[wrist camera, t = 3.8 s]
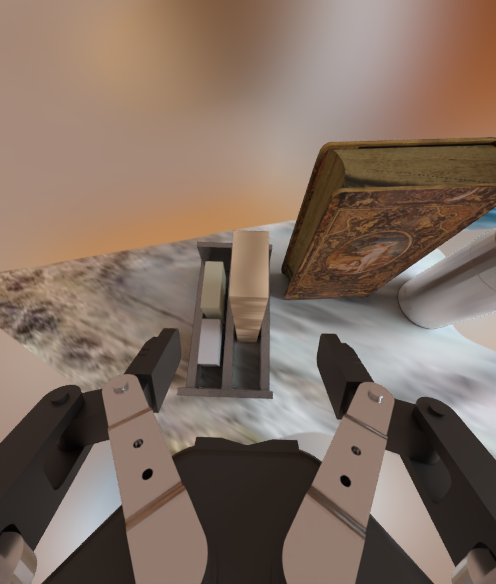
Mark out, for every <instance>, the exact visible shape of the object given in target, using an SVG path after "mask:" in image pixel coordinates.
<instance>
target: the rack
mask: <svg viewBox="0 0 496 584" xmlns="http://www.w3.org/2000/svg"><path fill="white" fill-rule="evenodd" d="M232 247H233V243H211V242H197V248H198V251H199V254H200V257H201V259H202V260H201V268H200V276H199V284H198V293H197V301H196V309H195V317H194V325H193V334H192V342H191V350H190V358H189V366H188V375H187V383H186V387H184V388H178V392H177V395H184V396H211V397H238V398H265V399H273V391H270V390H269V347H270V257H271V252H272V245H269V298H268V302H267V305H266V309H265V313H264V316H263V320H262V324H261V327H260V368H259V389H239V388H232V376H233V358H234V340H235V324H234V319H233V314H232V309H231V303H230V298H229V291H230V276H231V261H232ZM206 261H213V262H223V265H224V270H225V271H230V275H229V289H228V303H227V317H226V332H225V346H224V360H223V374H222V388H212V387H200V382H201V372H202V365H200V364H197V363H198V353H199V344H200V335H201V325H202V319H207V318H206V316H205V314H204V313H203V311H202V310H201V308H200V306H201V297H202V288H203V280H204V271H205V262H206Z"/></svg>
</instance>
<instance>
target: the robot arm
mask: <svg viewBox="0 0 496 584" xmlns="http://www.w3.org/2000/svg"><path fill="white" fill-rule="evenodd" d="M398 299H399V304H400V307H401V309H402V311H403V313H404V314H405V315H406V316H407V317H408V318H409V319H410V320H411V321H412V322H414V323H415V324H417V325H419V326H421V327H424V328H429V329H436V328H441V327H444V326H448V325H451V324H454V323H459V322H462V321H466V320H469V319H473V318H477V317H480V316H484V315H487V314H491V313H494V312H496V227H494V228H493V229H491V230H490V231H488V232H486V233H485V234H483V235H481V236H480V237H478V238H477V239H475V240H474V241H472V242H470V243H469V244H467V245H465V246H464V247H462V248H461V249H459V250H457V251H456V252H454V253H453V254H451V255H449V256H448V257H446V258H444V259H443V260H441V261H440V262H438V263H436V264H435V265H433V266H432V267H430V268H428V269H427V270H425V271H424V272H422V273H420V274H419V275H417V276H415V277H414V278H412V279H411V280H409V281H407V282H406V283H405V284H403V285H402V287H401V288H400V291H399V295H398ZM180 359H181V346H180V337H179V330H178V329H173V328H164V329H163V330H162V331H161V333H160V335H159V336H158V337H153V338H151V339H150V340H148V341H147V342H146V343H145V344H144V346H143V347H142V349H141V350H140V351H139V353H138V354H137V356H136V357H135V359H134V360H133V361H132V363H131V364H130V366H129V367H128V369H127V370H126V372H125V373H124V374H123V375H120V376H117V377H115V378H113V379H111V380H110V381H109V382H107V383H106V384H105V386H104V387H103V389H99V390H94V391H90V392H85V393H82V392H81V389H80V387H78V386H76V385H66V386H62V387H59V388H57V389H55V390H53V391H51V392H49V393H48V394H47V395H45V396H44V397H43V398H42V399H41V400H40V401H39V403H37V405H36V406H35V407H34V408H33V409H32V410H31V411H30V412H29V413H28V414H27V415H26V416H25V417H24V418H23V419H22V421H21V422H20V423H19V424H18V425H17V426H16V427H15V428H14V429H13V430H12V431H11V433H9V435H8V436H7V437H6V438H5V439H4V440H3V441H2V442H1V443H0V584H31V583H32V580H33V578H34V576H35V572H36V568H37V558H36V555H35V553H34V550H35V548H36V546H37V544H38V543H39V541H40V539H41V537H42V536H43V534H44V532H45V530H46V528H47V527H48V525H49V523H50V521H51V520H52V518H53V516H54V514H55V512H56V511H57V509H58V507H59V505H60V504H61V502H62V500H63V498H64V496H65V494H66V493H67V491H68V489H69V487H70V486H71V484H72V482H73V480H74V479H75V477H76V475H77V473H78V471H79V470H80V468H81V466H82V464H83V462H84V461H85V459H86V457H87V455H88V453H89V452H90V450H91V448H92V446H93V445H94V444H95V443H99V442H102V441H106V440H110V444H111V449H112V454H113V459H114V465H115V470H116V475H117V480H118V486H119V490H120V496H121V501H122V505H121V506H120V507H119V508H118V509H117V510H116V511H115V512H114V513H113V514H112V515H111V516H110V517H109V518H108V519H106V520H105V521H104V523H103V524H101V525H100V526H99V527H98V528H97V529H96V530H95V531H94V532H93V533H92V534H91V535H90V536H89V537H88V538H87V539H86V540H85V541H84V542H83V543H82V544H81V545H80V546H79V547H78V548H77V549H76V550H75V551H74V552H73V553H72V554H71V555H70V556H69V557H68V558H67V559H66V560H65V561H64V562H63V563H62V564H61V565H60V566H59V567H58V568H57V569H56V570H55V571H54V572H53V573H52V574H51V575H50V576H49V577H48V578H47V579H46V580H45V581H44V582H43V583H42V584H434V583H433V582H432V581H431V580H430V579H429V578H428V577H427V575H426V574H425V573H424V572H423V571H422V570H421V569H420V568H419V567H418V566H417V564H415V562H414V561H413V560H412V559H411V558H410V557H409V556H408V555H407V554H406V553H405V552H404V550H403V549H402V548H401V547H400V546H399V545H398V544H397V543H396V542H395V540H394V539H393V538H392V537H391V536H390V535H389V534H388V533H387V532H386V531H385V529H384V528H383V527H382V526H381V525H380V524H379V523H378V522H377V521H376V520H375V518H374V517H373V516H372V515H371V514H370V511H371V506H372V502H373V498H374V494H375V489H376V485H377V481H378V477H379V472H380V468H381V464H382V460H383V455H384V451H385V450H388V451H391V452H394V453H397V454H399V455H400V457H401V459H402V461H403V463H404V465H405V467H406V469H407V471H408V473H409V475H410V477H411V479H412V481H413V483H414V485H415V487H416V489H417V491H418V493H419V495H420V497H421V499H422V501H423V503H424V505H425V507H426V509H427V511H428V513H429V515H430V517H431V519H432V521H433V523H434V525H435V527H436V529H437V531H438V533H439V535H440V537H441V539H442V541H443V543H444V545H445V547H446V549H447V551H448V553H449V555H450V557H451V559H452V561H453V563H454V565H455V569H454V570H453V573H452V584H496V460H495V459H494V458H493V456H492V455H491V454H490V453H489V452H488V450H487V449H486V448H485V447H484V446H483V444H482V443H481V442H480V441H479V440H478V439H477V437H476V436H475V435H474V434H473V433H472V431H471V430H470V429H469V428H468V427H467V426H466V424H465V423H464V422H463V421H462V420H461V418H460V417H459V416H458V415H457V414H456V413H455V412H454V410H452V409H451V408H450V407H449V406H448V405H446V404H444V403H443V402H441V401H439V400H436V399H434V398H430V397H421V398H419V399H418V400H417V401H416V404H412V403H408V402H405V401H401V400H398V399H395V398H394V397H393V395H392V394H391V393H390V392H389V391H388V390H387V389H386V388H384V387H383V386H381V385H379V384H376V383H374V381H373V379H372V378H371V376H370V375H369V373H368V372H367V370H366V368H365V367H364V365H363V364H362V363H361V360H360V359H359V358H358V356H357V354H356V353H355V351H354V349H352V348H351V347H350V346H349V345H347V344H346V343H341V341H340V340H339V338H338V336H337V335H336V334H321V336H320V341H319V347H318V352H317V366H318V369H319V372H320V375H321V377H322V380H323V383H324V385H325V388H326V391H327V394H328V396H329V399H330V402H331V404H332V407H333V410H334V412H335V415H336V418H337V419H342V420H341V422H340V424H339V427H338V429H337V431H336V433H335V435H334V437H333V440H332V442H331V444H330V446H329V449H328V450H327V453H326V455H325V457H324V459H323V461H322V462H321V461H320V460H319V459H317V458H316V457H315V456H313V455H311V454H309V453H307V452H305V451H303V450H300V449H299V447H298V441H297V440H274V439H272V440H268V441H264V442H260V443H255V444H251V445H243V444H240V443H237V442H233V441H230V440H227V439H224V438H213V437H196V441H195V446H192V447H189V448H186V449H184V450H182V451H180V452H178V453H176V454H175V455H173V456H172V457H171V455H170V452H169V450H168V447H167V445H166V442H165V440H164V437H163V435H162V432H161V430H160V427H159V425H158V423H157V420H156V418H155V415H154V413H159V410H160V408H161V405H162V403H163V401H164V398H165V396H166V394H167V391H168V389H169V386H170V384H171V382H172V379H173V377H174V375H175V372H176V370H177V367H178V365H179V363H180Z"/></svg>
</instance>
